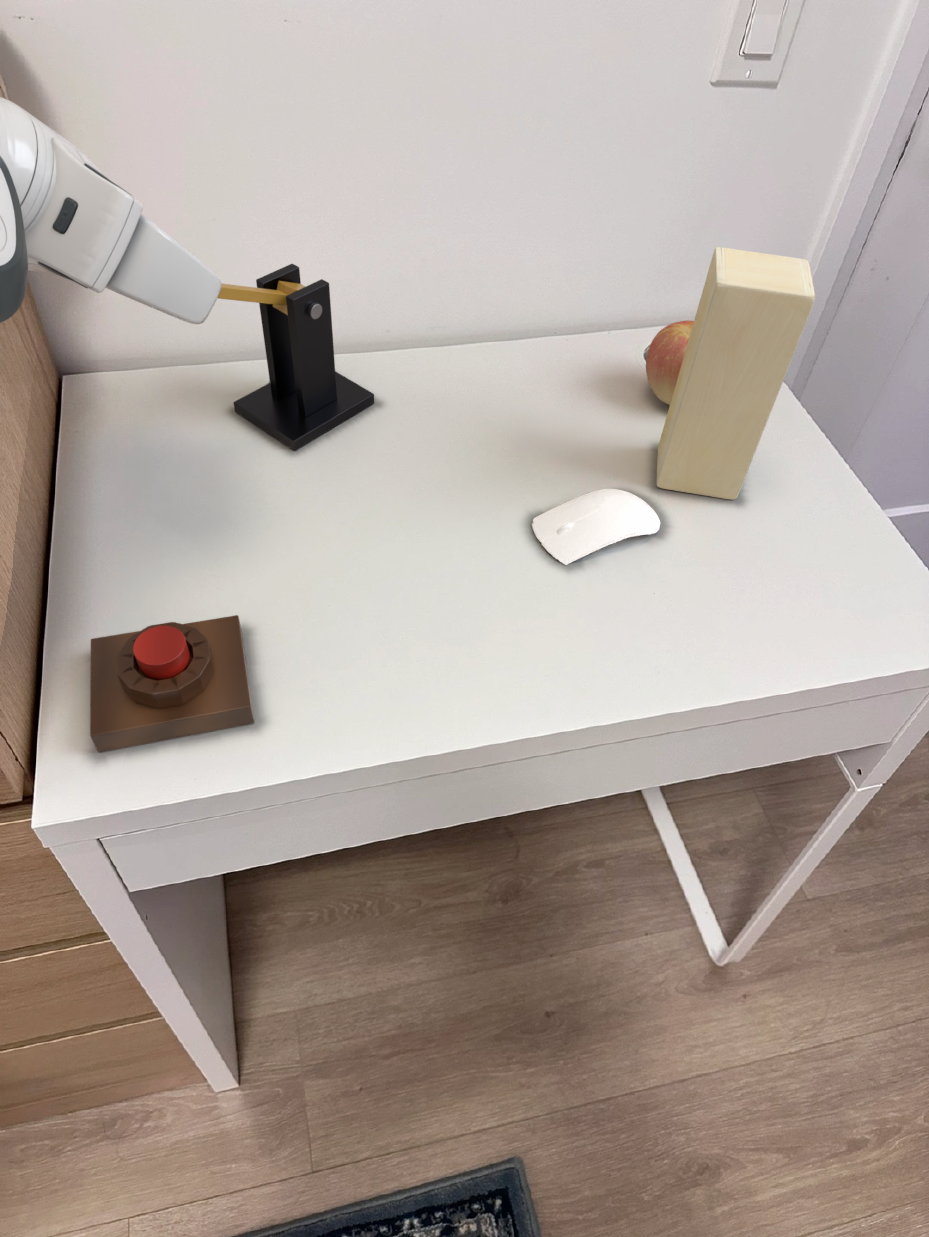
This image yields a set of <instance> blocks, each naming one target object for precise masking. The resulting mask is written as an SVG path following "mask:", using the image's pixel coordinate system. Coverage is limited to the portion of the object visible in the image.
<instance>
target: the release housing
mask: <svg viewBox="0 0 929 1237" xmlns="http://www.w3.org/2000/svg"><path fill="white" fill-rule="evenodd" d="M239 616H240V615H238V614H237V615H236V614H235V615H229V616H223V617H218V618H217V617H216V618H210V619H205V620H204V619H203V620H198V621H192V622H187V623H180V622H176V621H170V622H163V623H158V624H150V625H147V626H146V627H144V628H143V629H141V630H138V631H131V632H125V633H119V634H113V635H105V636H101V637H94V638H90V686H89V687H90V695H89V698H90V699H89V700H90V703H89V704H90V705H89V707H90V709H89V713H90V714H89V715H90V716H89V729H90V730H89V737H90V738H91V741H92V743H93V745H94V747H95V749H96V751H97V752H98V753H105V752H109V751H115V750H120V749H126V748H131V747H135V746H141V745H146V744H153V743H158V742H164V741H168V740H175V739H179V738H185V737H190V736H196V735H200V734H206V733H211V732H216V731H222V730H226V729H232V728H237V727H242V726H248V725H253V724H255V717H254V716H255V715H254V708H253V702H252V694H251V686H250V680H249V672H248V666H247V659H246V652H245V650H246V649H245V643H244V636H243V629H242V626H241V620H240V617H239ZM157 626H170V627H174V628H176V629H178V630H180V631H181V632H182V633H183V635H184V637H185V639H186V643H187V646H188V649H189V653H190V660H189V663H188V665H187V667H186V668H185V669H184V670H183V671H182V672H181V673H179V674H178V675H176V676H174V677H172V678H168V679H162V680H158V679H152V678H149V677H147V676H146V675H144V674H143V673H142V672H141V670H140V668H139V666H138V663H137V660H136V658H135V655H134V652H133V647H134V643H135V641H136V639H137V638H138V637H139V636H140V635H141V634H142V633H143V632H145V631H146V630H148V629H151V628H153V627H157Z"/></svg>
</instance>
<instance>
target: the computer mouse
mask: <svg viewBox="0 0 929 1237" xmlns="http://www.w3.org/2000/svg"><path fill="white" fill-rule="evenodd" d="M531 526H532V530H533V534H534V535H535V537H536V538H537V540H538V541H539V542H540V543H541V546H542V547H543V548H544V549H545V550H546V551H547V552H548V554H550V555H551V556H552V557H553V558H554V559H555V560H558V561H559V563H561V564H563V565H564V566H567V565H569V564H571V563H573V562H575V561H577V560H579V559H580V560H581V558H583V557H586V556H587V555H590V554H591V553H594V552H597V551H598V550H600V549H602V548H605V547H607V546H609V545H613V544H615V543H618V542H621V541H623V540H625V539H627V538H628V539H629V538H632V537H639V536H643V535H644V536H645V535H649V536H650V535H654V534H656V533H658V532H659V531H660V528H661V520H660V517H659V515H658V514H657V512H656V511H655V510H654V509H653V507H651V505H649V503H647V502H646V501H645V500H643V499H642V498H641V497H639V496H637V495H635V494H634V493H631V492H630V491H627V490H622V489H618V488H601V489H597V490H594V491H590V492H588V493H585V494H582V495H579V496H577V497H575V498H572V499H570V500H568V501H565V502H563V503H561V504H559V505H557V506H555V507H553V508H551V509H548V510H547V511H544V512H542V513H540V514H539V515H537V516H536V517H533V519H532V523H531Z"/></svg>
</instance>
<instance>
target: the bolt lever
mask: <svg viewBox="0 0 929 1237" xmlns="http://www.w3.org/2000/svg"><path fill="white" fill-rule="evenodd" d="M221 284H222V288H221V291H220V293H219V295H218V298H217V300H218V299H220V300H229V301H238V302H248V303H256V304H259V303H265V304H273V307H274V308H276V309H278V310H279V311H281V312H283V313H285V314H286V315H288V313H287V304H286V296H287V295H289V294H291V293H293V292H296V291H298V290H300V289H302V288H304V287H306V286H305V285H303V284H298V283H291V282H284V281H279V282H278V286H277V290H271V289H263V288H257V287H255V286H246V285H238V284H229V283H222V282H221Z"/></svg>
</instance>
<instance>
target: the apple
mask: <svg viewBox="0 0 929 1237" xmlns="http://www.w3.org/2000/svg"><path fill="white" fill-rule="evenodd" d="M693 323H694V320H680V321H675V322H672V323H670V324H668V325H666V326H664V327H663V328H661V330H659V331H658V332H657V333H656V335H655V336H654V337H653V339H652V341H651V342H650V344H649V347H648V350H647V353H646V358H645V371H646V372H645V373H646V374H645V375H646V378H647V382H648V385H649V387H650V389H651V391H652V392H653V395H655V397H656V398H657V399H658V400H659V401H661V402H662V403H664V404H665V405H668V406H670V404H671V400H672V396H673V393H674V390H675V386H676V383H677V379H678V376H679V372H680V369H681V365H682V362H683V358H684V355H685V351H686V348H687V344H688V341H689V337H690V334H691V330H692V327H693Z"/></svg>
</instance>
